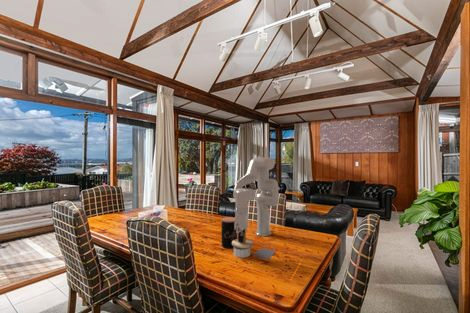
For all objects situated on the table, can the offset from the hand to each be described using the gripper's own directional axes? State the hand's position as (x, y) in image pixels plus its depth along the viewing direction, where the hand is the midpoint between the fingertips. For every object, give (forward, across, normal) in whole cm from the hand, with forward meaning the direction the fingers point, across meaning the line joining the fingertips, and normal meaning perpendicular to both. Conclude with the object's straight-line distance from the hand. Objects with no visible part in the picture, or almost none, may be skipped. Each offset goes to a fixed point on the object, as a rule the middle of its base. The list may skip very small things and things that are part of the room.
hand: (241, 240), depth 138 cm
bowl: (+9, 0, 0) cm, 9 cm away
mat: (+9, -7, +12) cm, 16 cm away
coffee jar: (+9, -9, -14) cm, 19 cm away
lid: (+2, 0, 0) cm, 2 cm away
